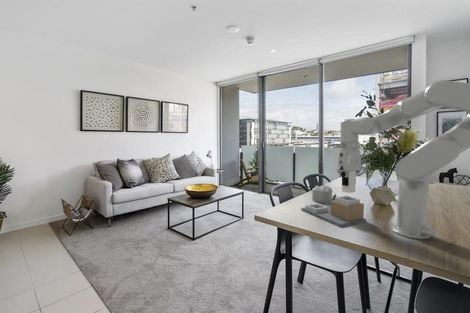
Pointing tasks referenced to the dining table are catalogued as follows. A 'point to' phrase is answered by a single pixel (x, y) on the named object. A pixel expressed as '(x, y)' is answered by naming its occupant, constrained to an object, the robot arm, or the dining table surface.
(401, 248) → the dining table surface
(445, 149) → the robot arm
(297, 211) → the dining table surface
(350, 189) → the plug
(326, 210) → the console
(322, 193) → the lumpy-topped squat cylinder
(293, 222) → the dining table surface
